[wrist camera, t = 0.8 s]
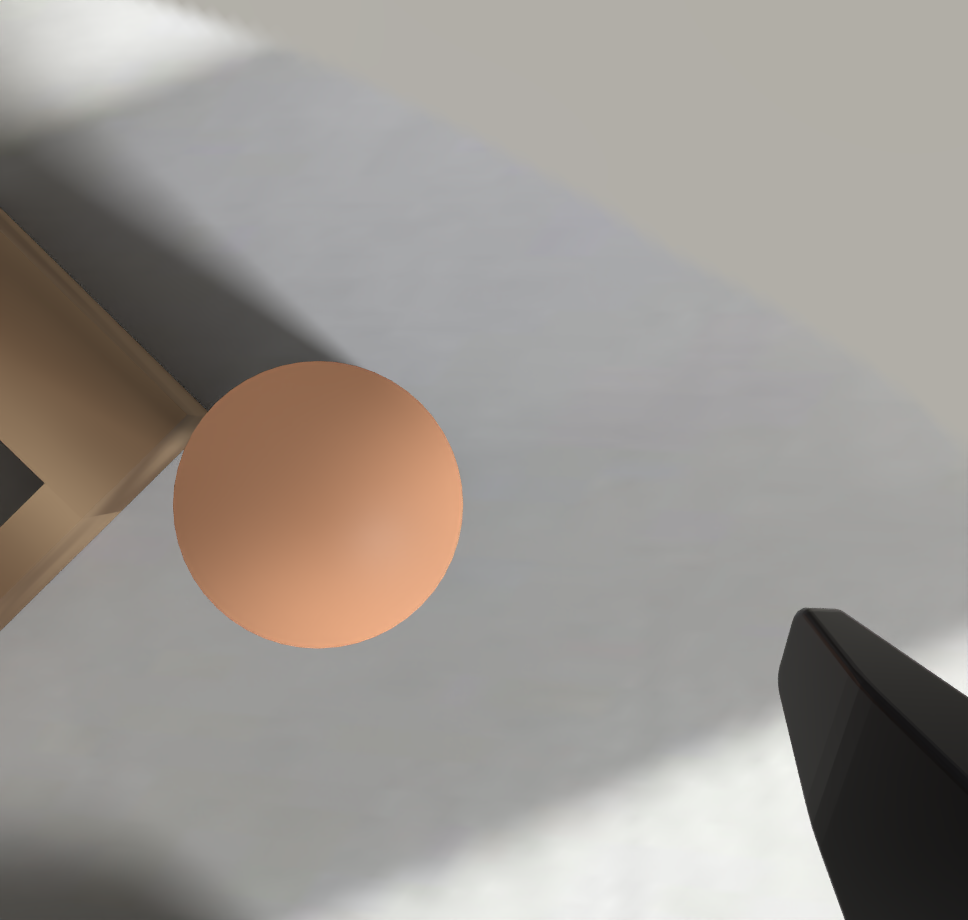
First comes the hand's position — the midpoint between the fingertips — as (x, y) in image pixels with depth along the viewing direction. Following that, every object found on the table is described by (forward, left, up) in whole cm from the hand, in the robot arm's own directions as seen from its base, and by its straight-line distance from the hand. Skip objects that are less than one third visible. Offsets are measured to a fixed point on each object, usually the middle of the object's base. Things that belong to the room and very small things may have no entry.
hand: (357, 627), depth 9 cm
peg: (0, +1, -18) cm, 18 cm away
